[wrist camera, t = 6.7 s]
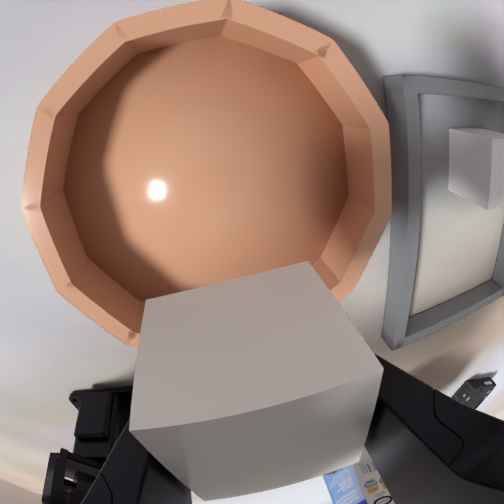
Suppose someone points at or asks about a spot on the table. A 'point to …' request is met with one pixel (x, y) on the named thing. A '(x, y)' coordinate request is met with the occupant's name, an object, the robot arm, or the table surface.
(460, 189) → the pale grey cubic block
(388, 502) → the ink cartridge box
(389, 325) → the parts tray
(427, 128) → the table surface
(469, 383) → the disk drive
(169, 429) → the white matte cube
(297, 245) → the bowl
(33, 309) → the table surface
